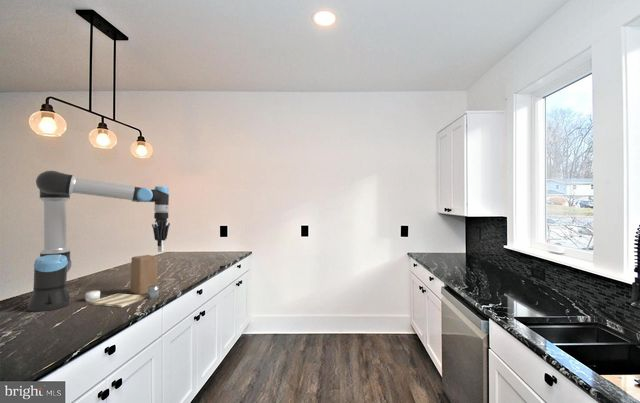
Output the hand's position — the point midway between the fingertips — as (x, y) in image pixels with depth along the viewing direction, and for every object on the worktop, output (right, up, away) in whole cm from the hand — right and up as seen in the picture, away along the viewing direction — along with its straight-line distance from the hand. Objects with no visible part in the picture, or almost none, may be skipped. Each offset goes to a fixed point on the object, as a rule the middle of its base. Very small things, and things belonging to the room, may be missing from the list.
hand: (160, 251), depth 181 cm
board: (-6, -21, -28) cm, 35 cm away
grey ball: (+8, -21, -22) cm, 31 cm away
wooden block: (-3, -21, -12) cm, 25 cm away
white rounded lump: (-20, -20, -28) cm, 40 cm away
